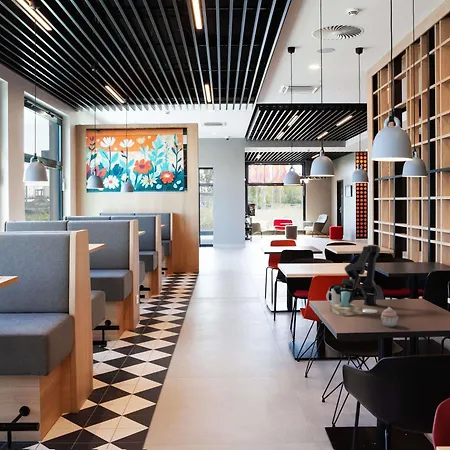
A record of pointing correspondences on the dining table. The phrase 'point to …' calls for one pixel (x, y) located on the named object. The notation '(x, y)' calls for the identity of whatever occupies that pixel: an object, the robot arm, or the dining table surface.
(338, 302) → the mug
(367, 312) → the pad
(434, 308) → the dining table surface
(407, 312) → the dining table surface
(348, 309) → the pocket collar
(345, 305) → the dowel
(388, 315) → the cupcake
